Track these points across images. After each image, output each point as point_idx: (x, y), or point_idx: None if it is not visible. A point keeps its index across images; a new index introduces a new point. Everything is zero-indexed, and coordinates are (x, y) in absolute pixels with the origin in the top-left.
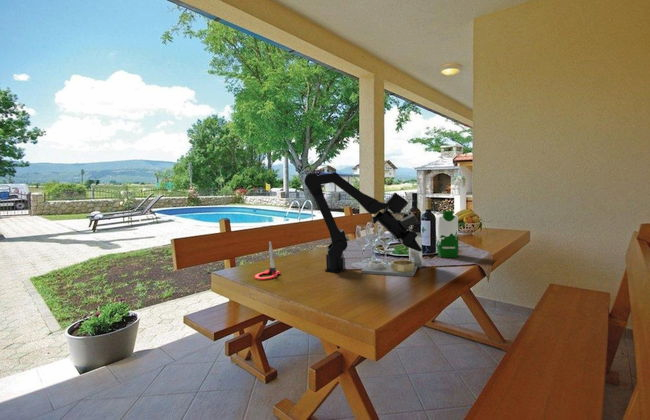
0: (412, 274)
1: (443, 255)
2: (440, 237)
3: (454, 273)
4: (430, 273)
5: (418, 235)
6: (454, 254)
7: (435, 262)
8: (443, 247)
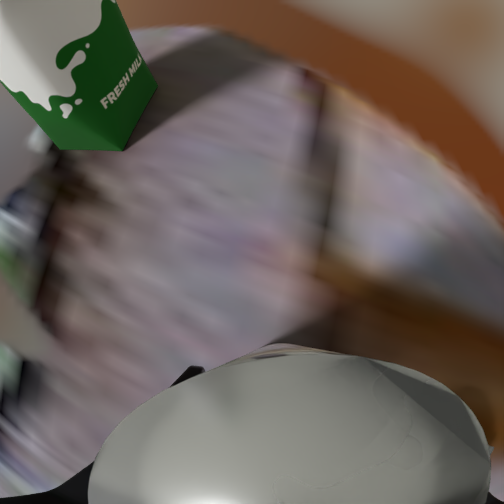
0: (490, 449)
1: (125, 132)
2: (58, 68)
3: (470, 218)
4: (464, 344)
5: (470, 470)
6: (148, 85)
7: (216, 216)
8: (107, 100)
